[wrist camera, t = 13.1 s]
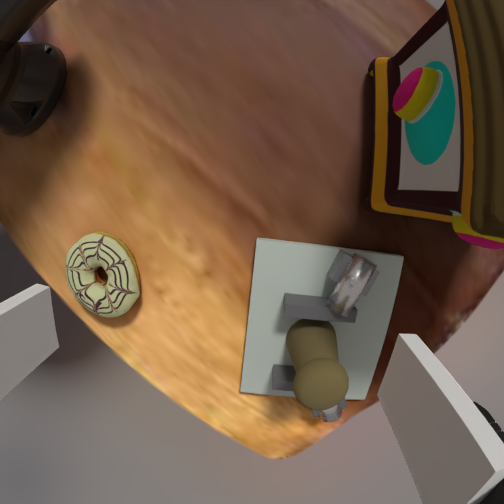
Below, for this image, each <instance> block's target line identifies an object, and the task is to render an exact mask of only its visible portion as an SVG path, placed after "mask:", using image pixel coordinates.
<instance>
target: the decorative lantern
mask: <svg viewBox="0 0 504 504" xmlns="http://www.w3.org/2000/svg"><path fill="white" fill-rule="evenodd" d="M368 72H369V74H370V75H371V76H373V143H372V162H371V177H370V189H369V194H368V197H367V198H365V199H364V201H363V205H364V207H365V208H366V209H367V210H369V211H373V212H379V213H387V214H394V215H401V216H408V217H415V218H422V219H428V220H435V221H441V222H447V223H452V225H453V229H454V231H455V233H456V234H457V235H458V236H459V238H461V239H463V240H464V241H466V242H468V243H471V244H473V245H477V246H480V247H484V248H491V249H501V248H504V0H445V2H444V4H443V5H442V7H441V8H440V9H439V10H438V11H437V12H436V13H435V14H434V15H433V16H432V17H431V18H430V19H429V20H428V21H427V22H426V23H425V24H424V25H423V26H422V28H421V29H420V30H419V31H418V32H417V33H416V34H415V35H414V36H413V37H412V38H411V39H410V40H409V41H408V42H407V43H406V44H405V46H404V47H403V48H402V49H401V50H400V51H399V52H398V53H397V54H396V55H395V56H394V57H392V58H386V57H380V58H376V59H374V60H373V61H372V62H371V63H370V65H369V68H368Z"/></svg>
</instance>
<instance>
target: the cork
mask: <svg viewBox="0 0 504 504" xmlns="http://www.w3.org/2000/svg"><path fill="white" fill-rule="evenodd" d="M286 346H287V349H288V352H289V355H290V357H291V360H292V363H293V366H294V369H295V372H296V374H295V377H294V380H293V391H294V394H295V396H296V398H297V400H298V402H299V403H301V404H302V405H303V406H304V407H306V408H309V409H311V410H319V411H320V410H327V409H329V408H332V407H334V406H336V405H337V404H339V403H340V402H341V401H342V400H343V398H344V397H345V396H346V394H347V391H348V389H349V377H348V375H347V372H346V370H345V368H344V367H343V366H342V365H341V364H340V363H339V359H338V349H337V339H336V332H335V330H334V327H333V326H332V324H331V323H330V322H329V321H323V320H311V319H300V320H298V321H297V322H295V323H294V324H293V325H292V326H291V327H290V329H289V330H288V332H287V336H286Z"/></svg>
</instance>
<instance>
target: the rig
mask: <svg viewBox="0 0 504 504" xmlns="http://www.w3.org/2000/svg"><path fill="white" fill-rule="evenodd" d="M340 249H341V250H343V251H345V252H347V253H349V254H351V255H352V256H353V254H354V253H356V254H359V255H360V256H362V257H364V258H366V259H368V260H369V261H371V262H373V263H374V264H376V265H377V268H376V270H378V271H379V272H380V273H379V275H378V277H377V278H376V280H375V282H374V284H373V286H372V287H371V289H370V291H369V293H368V294H367V296H366V297H365V296H363V295H361V297H360V298H359V300H358V302H357V303H356V305H355V307H354V308H353V310H352V312H351V313H350V315H349V316H348V317H345V316H342V315H340V314H338V313H336V312H334V311H333V310H331V309H330V308H329V307H328V306H327V305H326V303H327V301H328V299H329V297H330V296H331V294H332V292H333V290H334V289H335V287H336V285H337V282H335V281H333V280H331V278H330V277H329V275H328V274H327V272H328V270H329V269H330V267H331V265H332V263H333V261H334V259H335V258H336V256H337V254H338V252H339V250H340ZM403 260H404V257H403V256H401V255H398V254H390V253H382V252H374V251H366V250H358V249H350V248H342V247H334V246H326V245H318V244H309V243H301V242H292V241H284V240H275V239H266V238H257V242H256V251H255V261H254V270H253V279H252V289H251V298H250V307H249V317H248V326H247V335H246V344H245V353H244V362H243V371H242V381H241V390H240V392H247V393H255V394H265V395H275V396H286V397H296V396H295V394H294V391H293V380H294V377H295V374H296V372H295V369H294V366H293V363H292V360H291V357H290V355H289V352H288V349H287V346H286V336H287V332H288V330H289V329H290V327H291V326H292V325H293V324H294V323H295V322H297V321H298V320H300V319H311V320H323V321H329V322H330V323H331V324H332V326H333V327H334V330H335V332H336V339H337V349H338V359H339V363H340V364H341V365H342V366H343V367H344V368H345V370H346V372H347V375H348V377H349V389H348V391H347V394H346V396H345V399H365V398H366V395H367V392H368V389H369V386H370V384H371V381H372V378H373V375H374V372H375V369H376V366H377V363H378V359H379V356H380V353H381V350H382V346H383V343H384V340H385V336H386V332H387V329H388V325H389V321H390V318H391V314H392V310H393V306H394V302H395V297H396V293H397V289H398V284H399V280H400V275H401V270H402V265H403Z"/></svg>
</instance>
